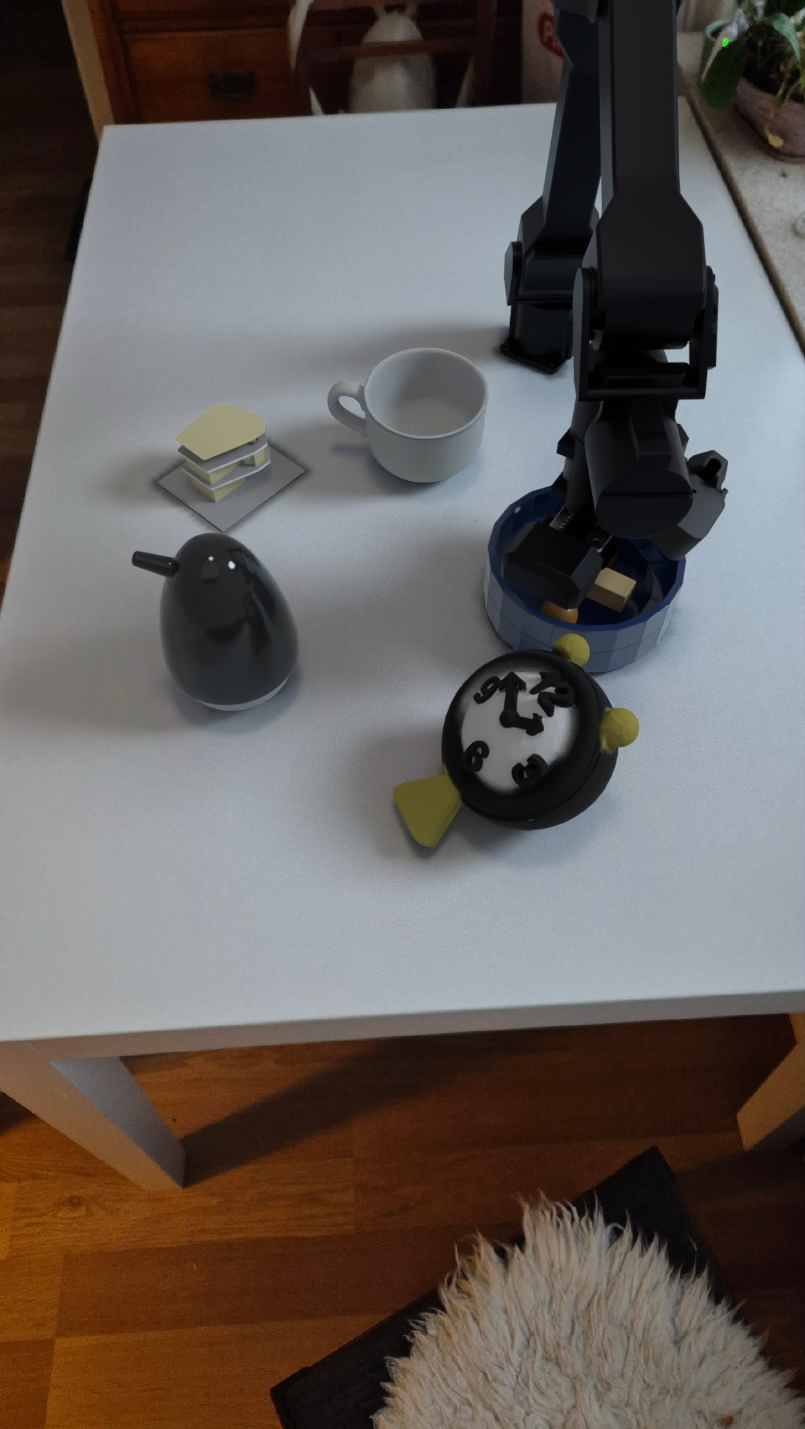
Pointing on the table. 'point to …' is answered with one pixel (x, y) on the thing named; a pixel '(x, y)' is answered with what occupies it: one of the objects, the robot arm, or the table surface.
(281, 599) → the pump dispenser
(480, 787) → the alarm clock
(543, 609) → the bead
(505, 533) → the bowl
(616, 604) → the stick
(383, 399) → the teacup
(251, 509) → the stacked layers on plate
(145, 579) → the table surface
